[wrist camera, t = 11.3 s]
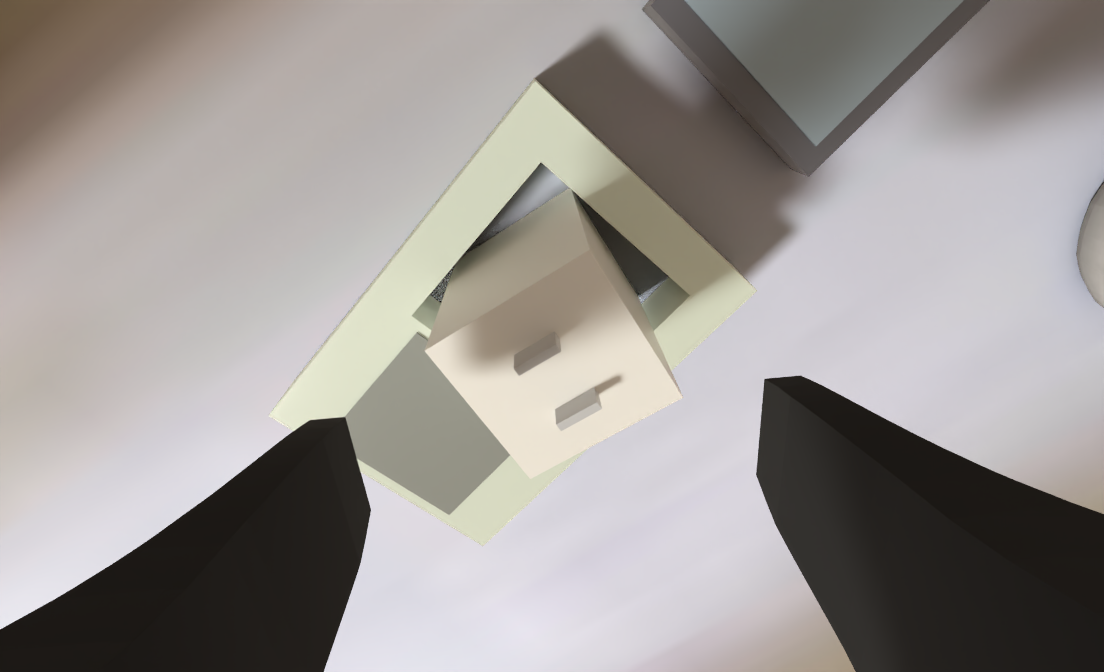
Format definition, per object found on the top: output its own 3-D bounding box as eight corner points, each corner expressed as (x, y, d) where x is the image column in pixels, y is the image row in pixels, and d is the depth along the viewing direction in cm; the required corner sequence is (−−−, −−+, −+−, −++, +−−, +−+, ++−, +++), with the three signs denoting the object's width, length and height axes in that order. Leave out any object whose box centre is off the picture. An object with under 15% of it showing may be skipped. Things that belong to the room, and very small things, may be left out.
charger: (456, 260, 18) (419, 364, 12) (570, 187, 17) (592, 258, 11) (530, 359, 19) (530, 496, 13) (637, 296, 18) (689, 412, 12)
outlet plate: (293, 381, 19) (267, 417, 17) (534, 78, 16) (535, 81, 14) (486, 505, 22) (483, 547, 20) (734, 267, 18) (758, 291, 16)
